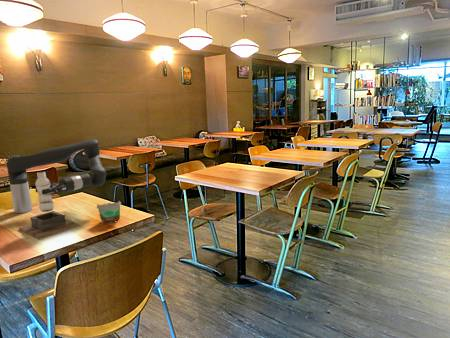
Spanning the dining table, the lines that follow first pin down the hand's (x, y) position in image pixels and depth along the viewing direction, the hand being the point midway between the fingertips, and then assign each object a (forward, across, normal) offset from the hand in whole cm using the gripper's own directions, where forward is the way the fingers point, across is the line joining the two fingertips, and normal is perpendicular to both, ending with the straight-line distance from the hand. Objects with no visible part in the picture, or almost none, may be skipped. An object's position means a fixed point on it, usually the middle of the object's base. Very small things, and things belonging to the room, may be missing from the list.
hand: (39, 191), depth 169 cm
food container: (-25, +20, +20) cm, 38 cm away
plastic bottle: (-2, 0, +11) cm, 11 cm away
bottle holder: (-2, 0, +20) cm, 20 cm away
